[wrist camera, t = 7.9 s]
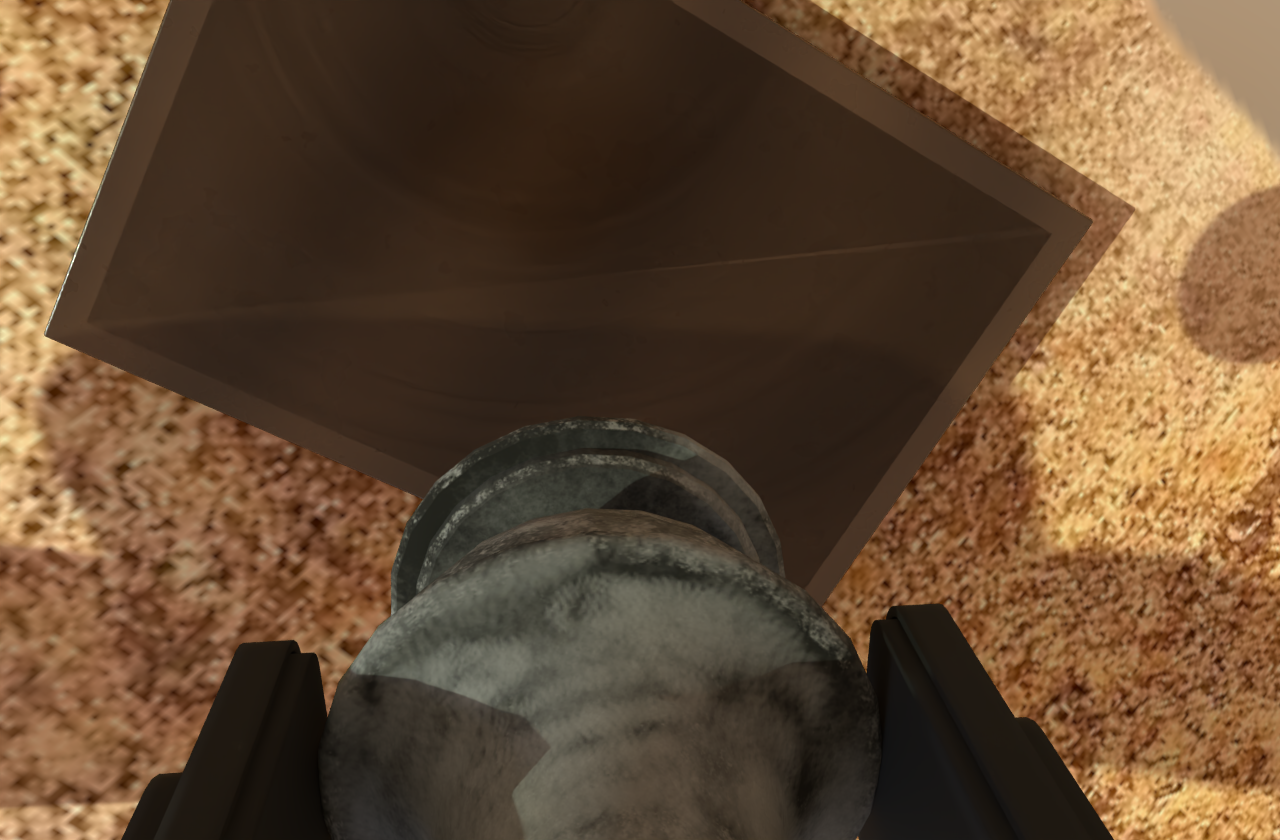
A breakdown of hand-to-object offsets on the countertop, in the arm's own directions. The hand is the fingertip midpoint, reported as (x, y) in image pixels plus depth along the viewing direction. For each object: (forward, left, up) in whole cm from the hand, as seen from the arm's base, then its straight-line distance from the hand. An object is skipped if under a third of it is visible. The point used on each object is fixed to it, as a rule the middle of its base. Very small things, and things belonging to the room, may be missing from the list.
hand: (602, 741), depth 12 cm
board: (0, +1, -18) cm, 18 cm away
